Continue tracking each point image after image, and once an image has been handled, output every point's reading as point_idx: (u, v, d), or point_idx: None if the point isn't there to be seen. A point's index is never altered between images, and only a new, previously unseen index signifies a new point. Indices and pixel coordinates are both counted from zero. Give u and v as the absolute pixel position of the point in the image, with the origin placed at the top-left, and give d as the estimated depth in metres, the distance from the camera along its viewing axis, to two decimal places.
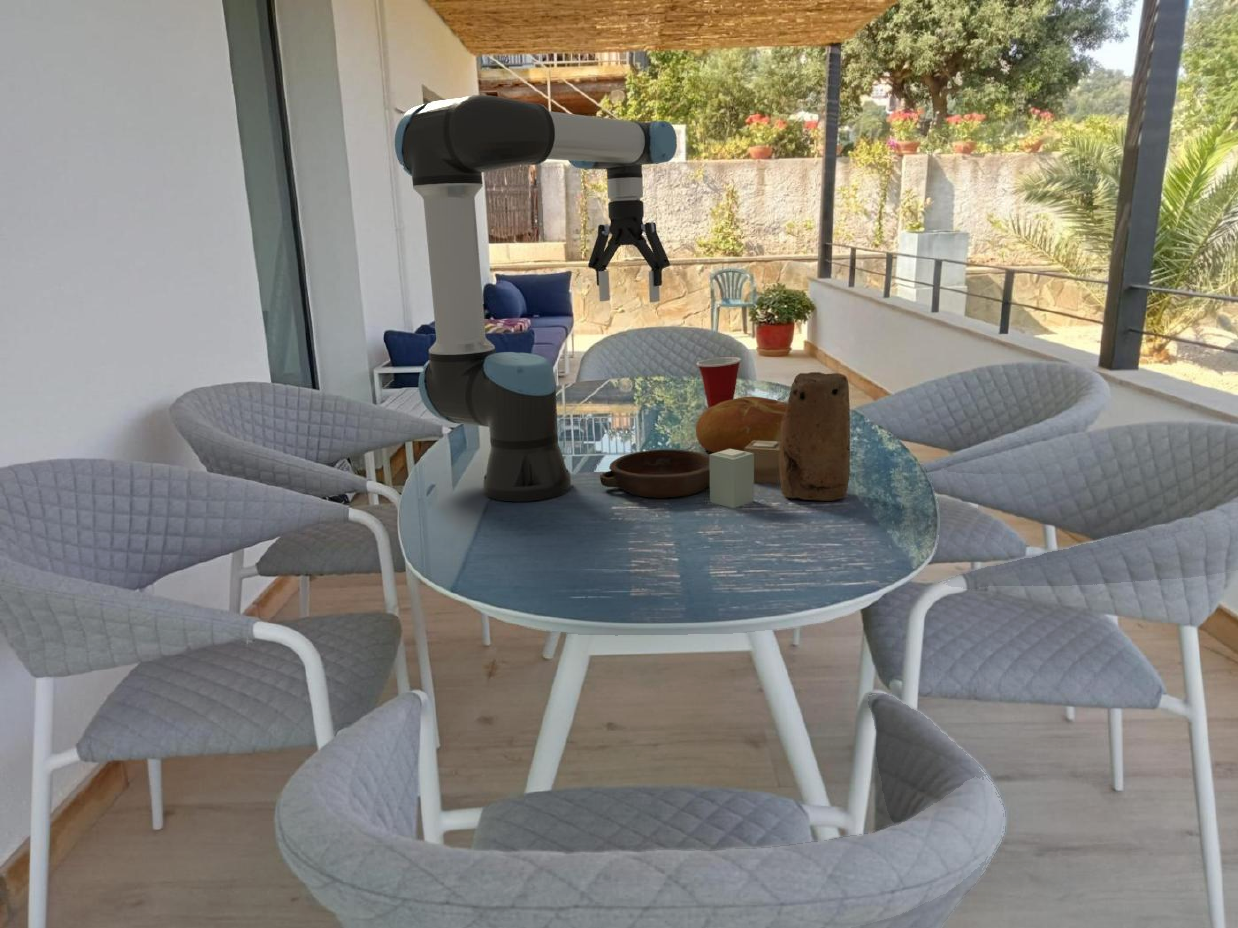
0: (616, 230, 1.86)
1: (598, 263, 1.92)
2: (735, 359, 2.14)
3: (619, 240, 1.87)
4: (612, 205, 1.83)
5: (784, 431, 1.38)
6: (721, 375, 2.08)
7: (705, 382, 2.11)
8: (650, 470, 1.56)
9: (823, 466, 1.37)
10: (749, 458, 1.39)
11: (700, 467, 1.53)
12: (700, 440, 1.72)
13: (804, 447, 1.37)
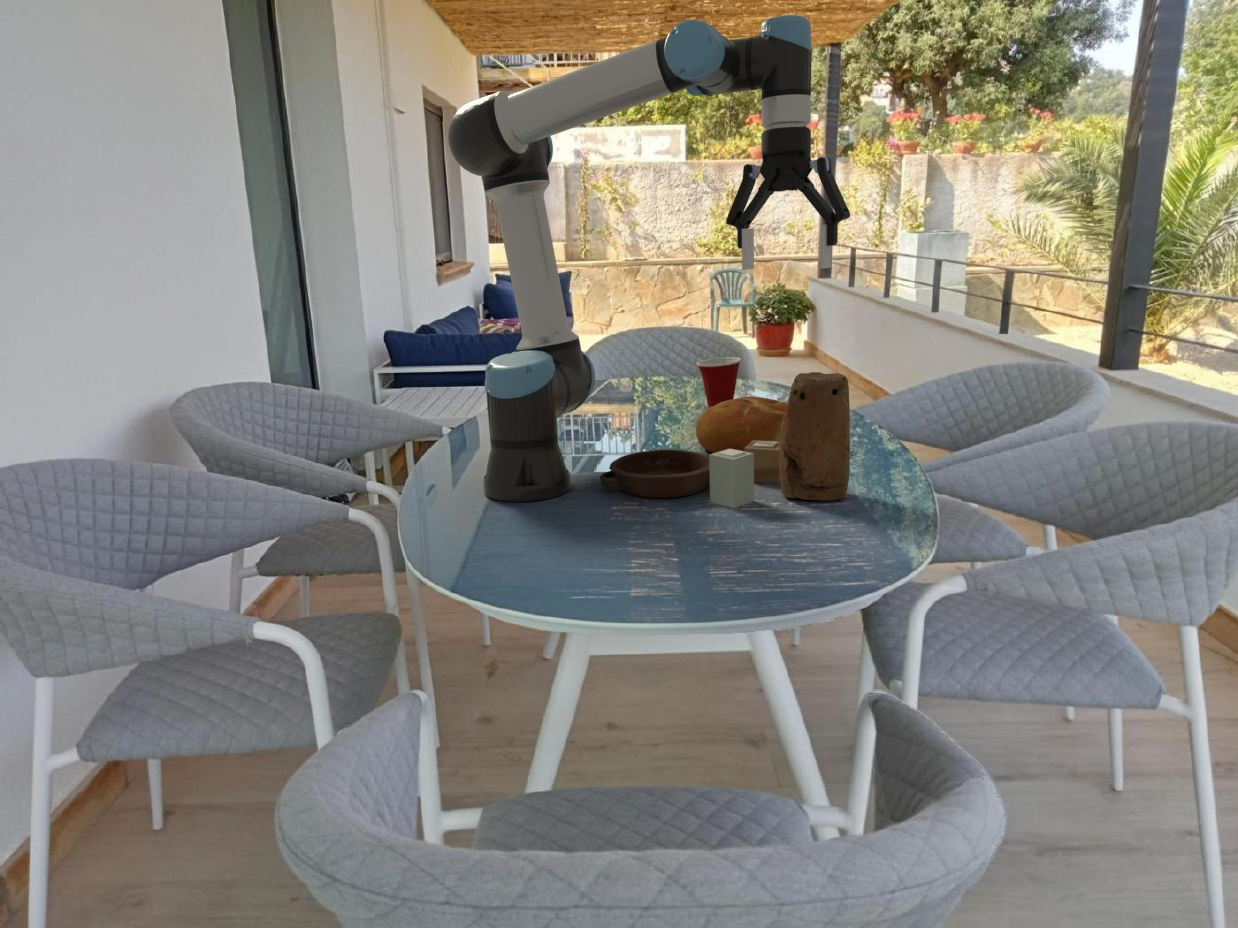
0: (773, 170, 1.36)
1: (742, 218, 1.42)
2: (735, 359, 2.14)
3: (775, 184, 1.37)
4: (771, 134, 1.33)
5: (784, 431, 1.38)
6: (721, 375, 2.08)
7: (705, 382, 2.11)
8: (650, 470, 1.56)
9: (823, 466, 1.37)
10: (749, 458, 1.39)
11: (700, 467, 1.53)
12: (700, 440, 1.72)
13: (804, 447, 1.37)
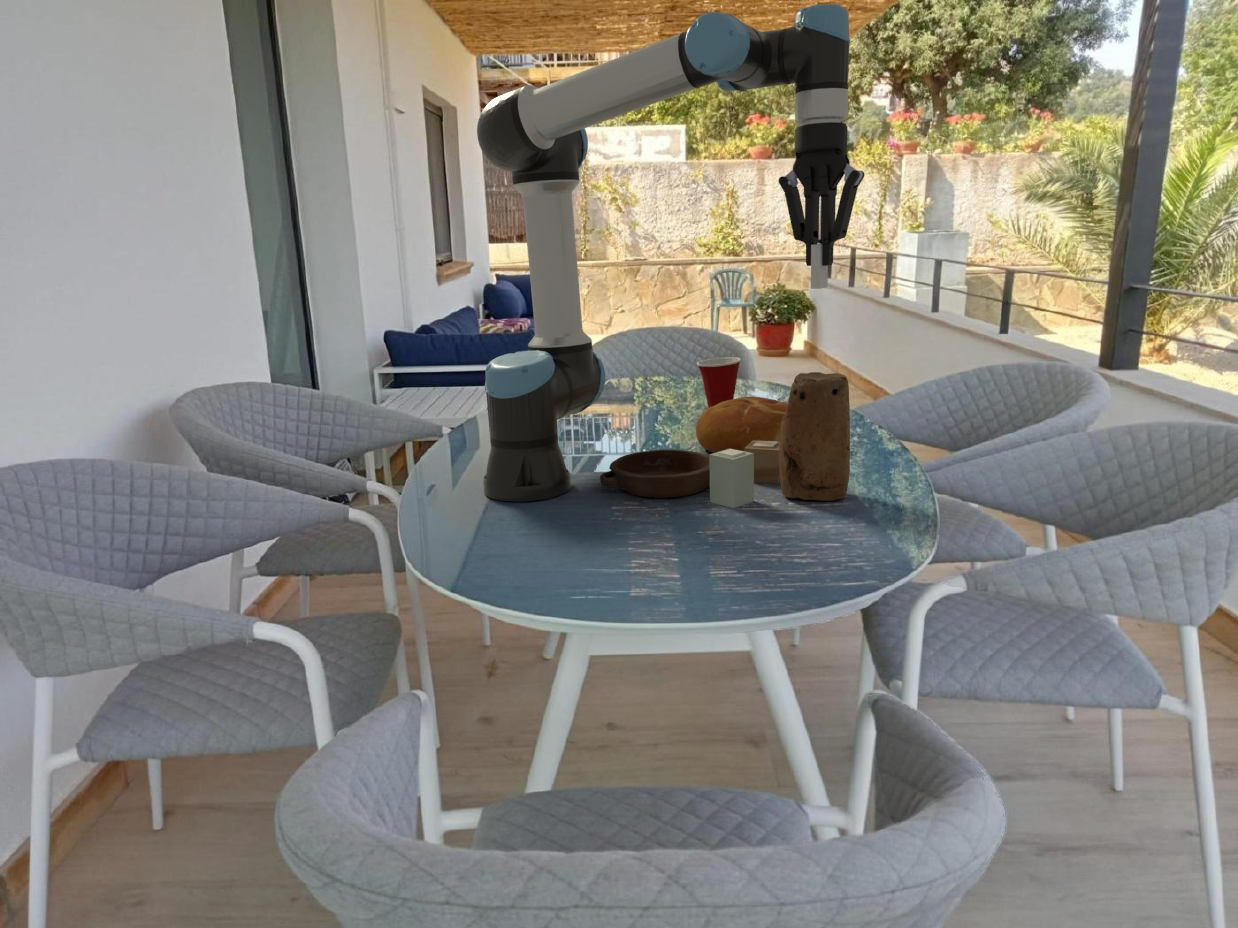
0: (807, 168, 1.29)
1: (806, 232, 1.32)
2: (735, 359, 2.14)
3: None
4: (806, 130, 1.26)
5: (784, 431, 1.38)
6: (721, 375, 2.08)
7: (705, 382, 2.11)
8: (650, 470, 1.56)
9: (823, 466, 1.37)
10: (749, 458, 1.39)
11: (700, 467, 1.53)
12: (700, 440, 1.72)
13: (804, 447, 1.37)
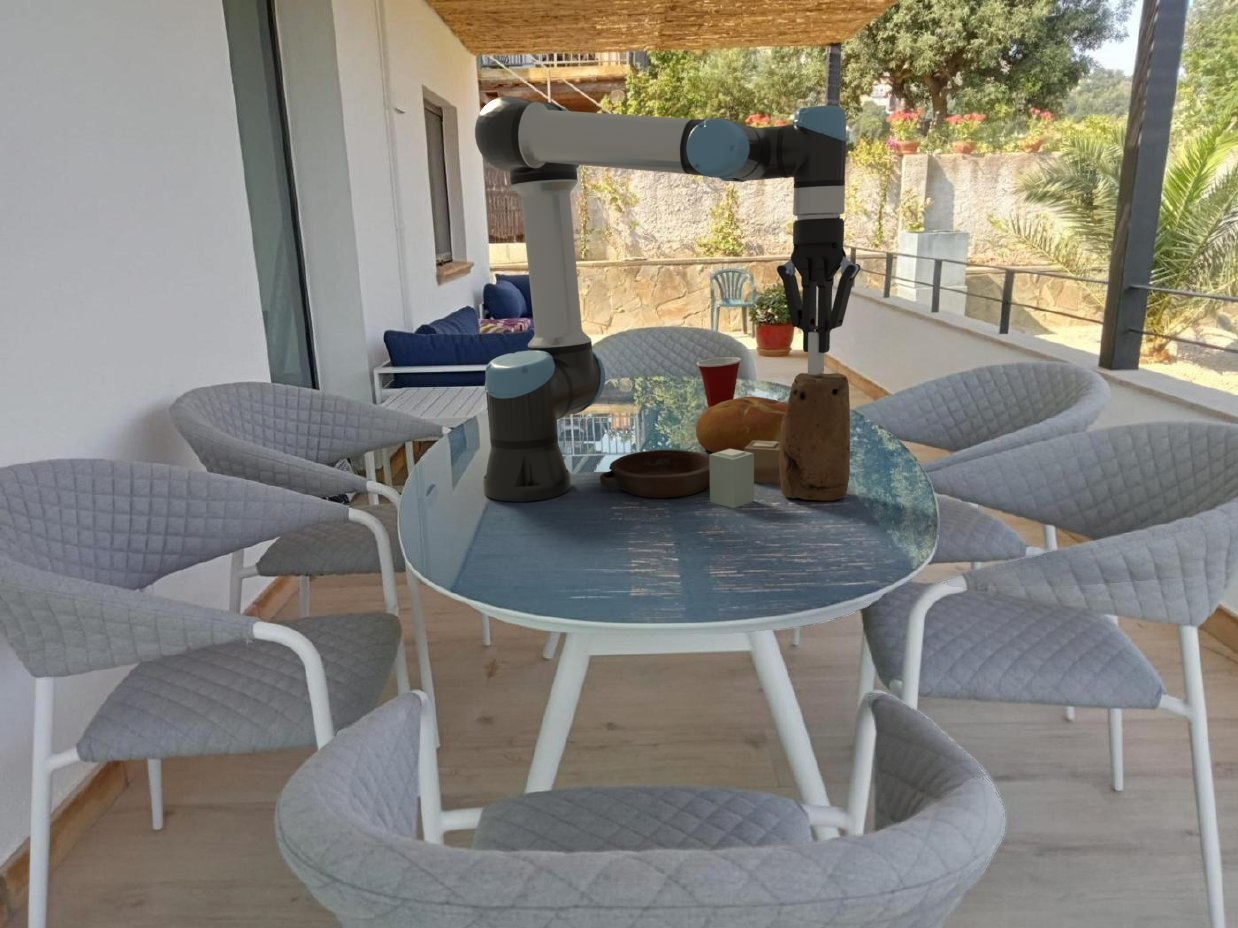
0: (804, 260, 1.32)
1: (804, 320, 1.35)
2: (735, 359, 2.14)
3: None
4: (803, 225, 1.29)
5: (784, 431, 1.38)
6: (721, 375, 2.08)
7: (705, 382, 2.11)
8: (650, 470, 1.56)
9: (823, 466, 1.37)
10: (749, 458, 1.39)
11: (700, 467, 1.53)
12: (700, 440, 1.72)
13: (805, 447, 1.37)
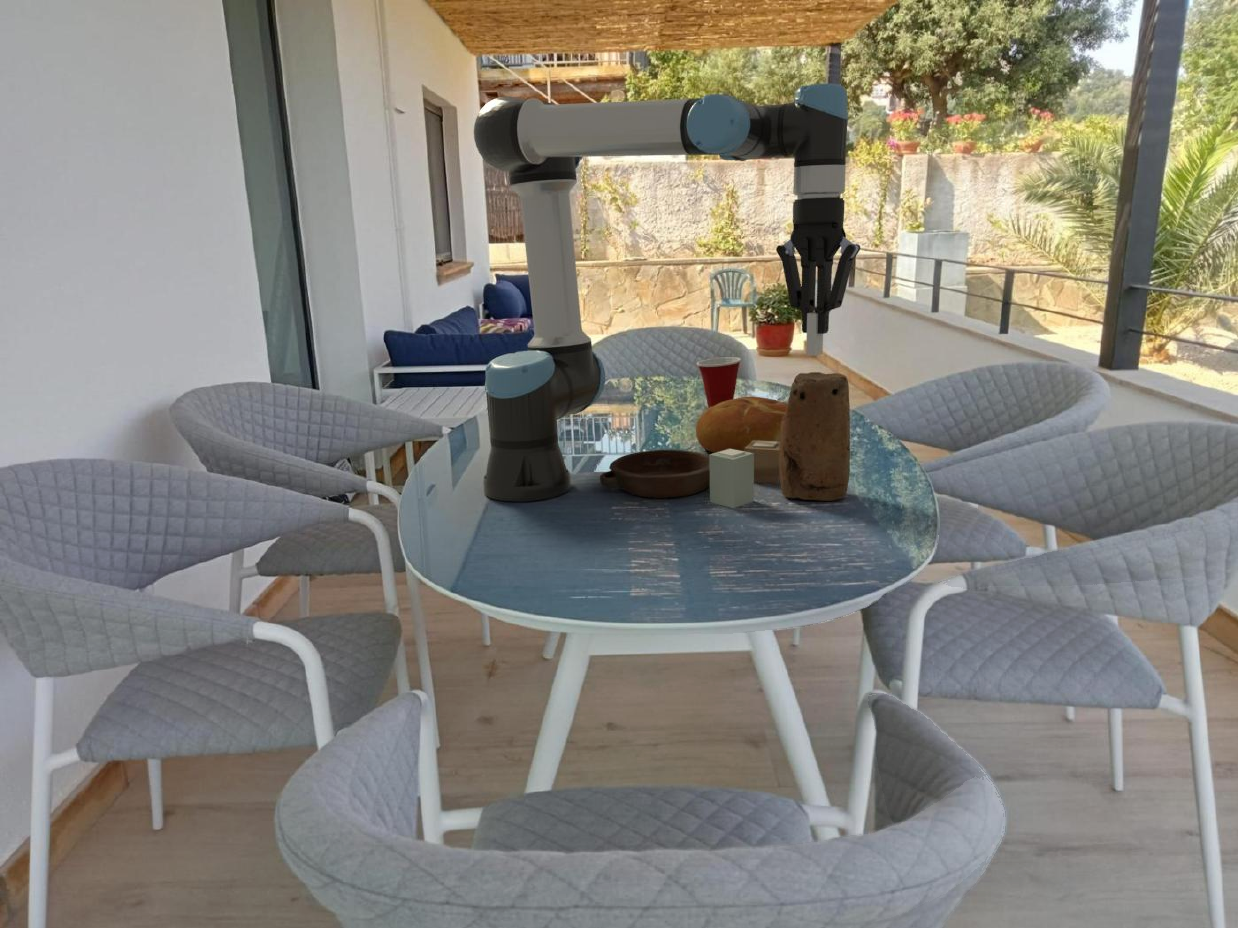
0: (804, 240, 1.31)
1: (803, 301, 1.34)
2: (735, 359, 2.14)
3: None
4: (803, 204, 1.28)
5: (784, 431, 1.38)
6: (721, 375, 2.08)
7: (705, 382, 2.11)
8: (650, 470, 1.56)
9: (823, 466, 1.37)
10: (749, 458, 1.39)
11: (700, 467, 1.53)
12: (700, 440, 1.72)
13: (804, 447, 1.37)
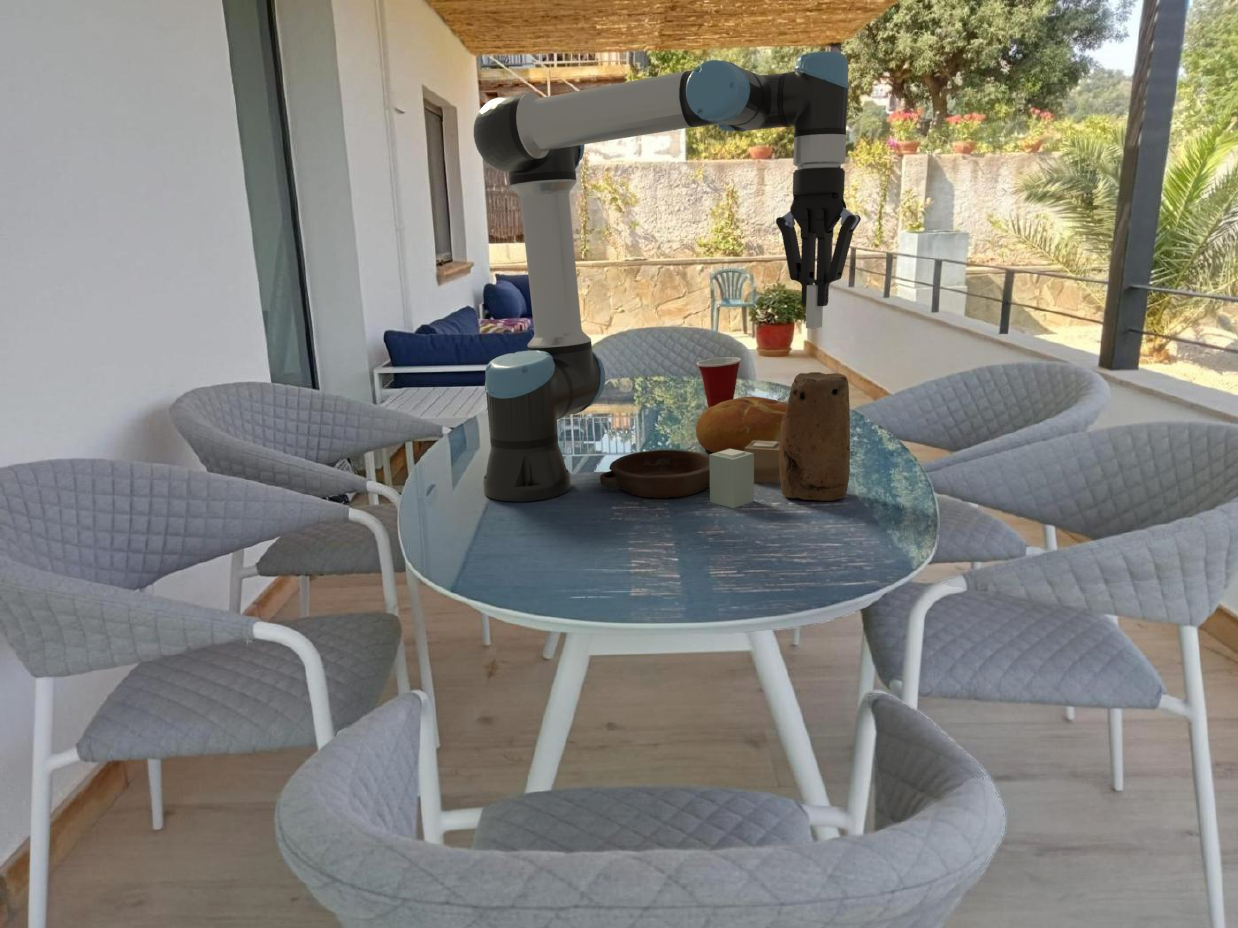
0: (804, 211, 1.30)
1: (802, 273, 1.33)
2: (735, 359, 2.14)
3: None
4: (804, 175, 1.27)
5: (784, 431, 1.38)
6: (721, 375, 2.08)
7: (705, 382, 2.11)
8: (650, 470, 1.56)
9: (823, 466, 1.37)
10: (749, 458, 1.39)
11: (700, 467, 1.53)
12: (700, 440, 1.72)
13: (804, 447, 1.37)
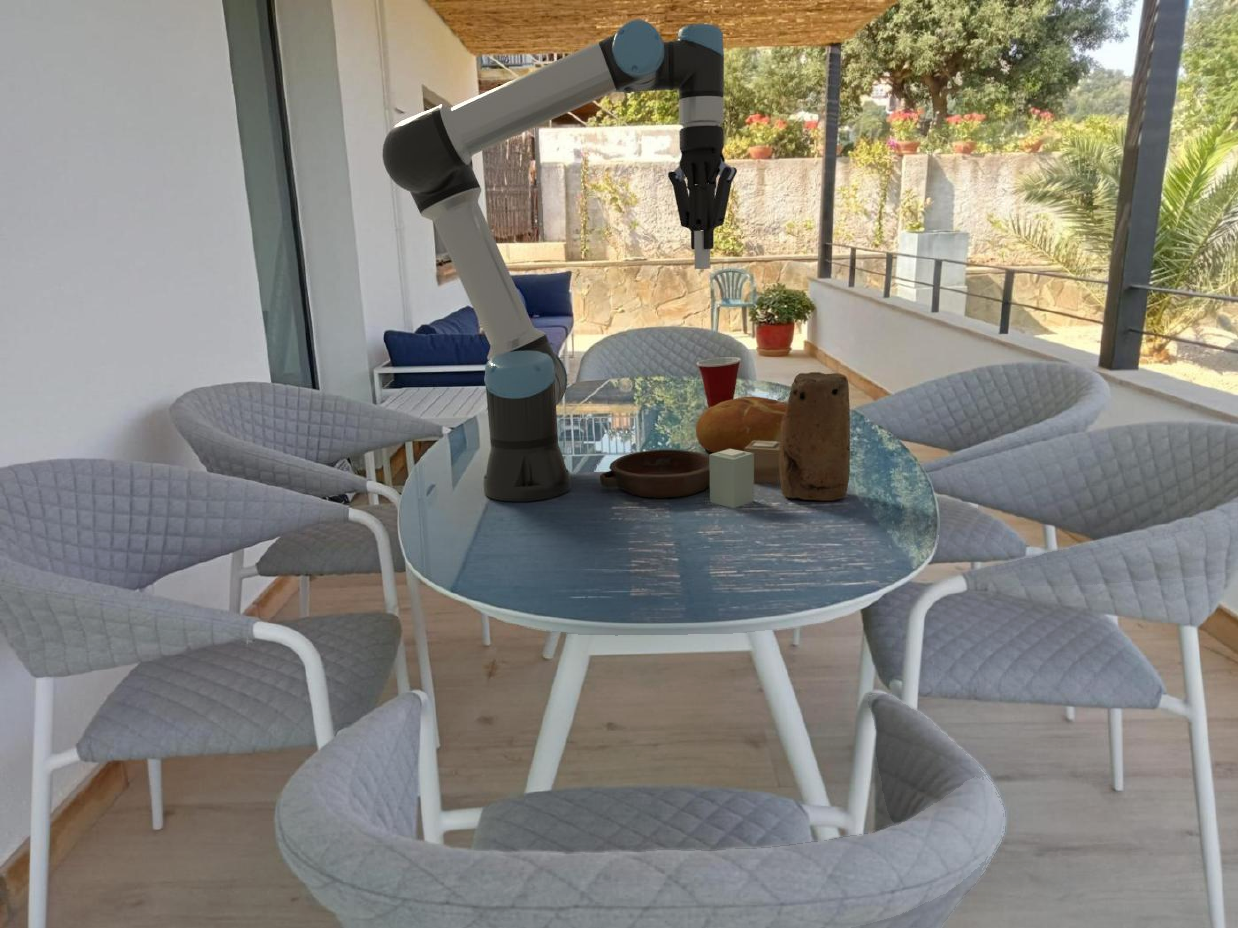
0: (689, 165, 1.49)
1: (690, 220, 1.52)
2: (735, 359, 2.14)
3: None
4: (686, 132, 1.46)
5: (784, 431, 1.38)
6: (721, 375, 2.08)
7: (705, 382, 2.11)
8: (650, 470, 1.56)
9: (823, 466, 1.37)
10: (749, 458, 1.39)
11: (700, 467, 1.53)
12: (700, 440, 1.72)
13: (804, 447, 1.37)
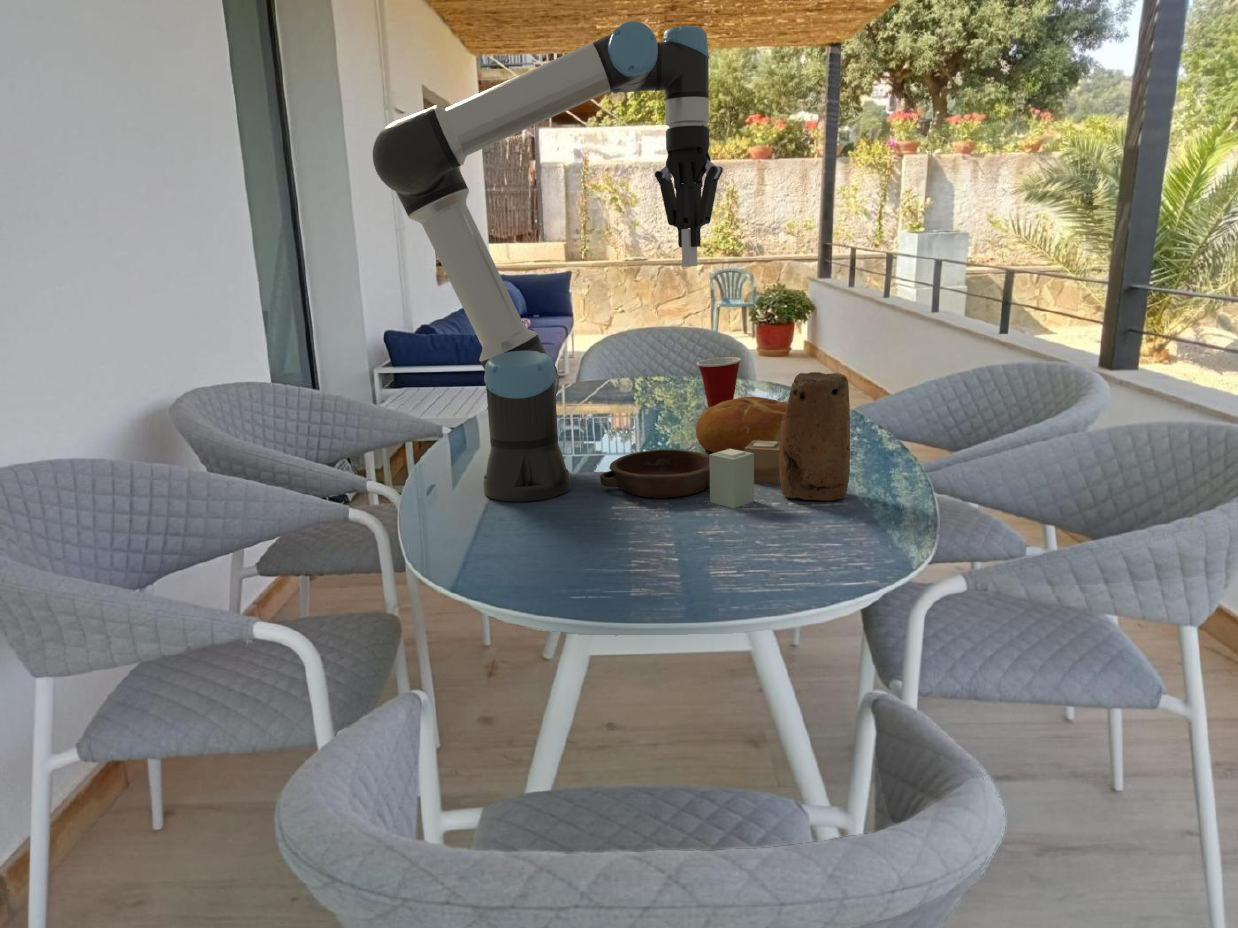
0: (675, 164, 1.52)
1: (677, 218, 1.55)
2: (735, 359, 2.14)
3: None
4: (672, 132, 1.49)
5: (784, 431, 1.38)
6: (721, 375, 2.08)
7: (705, 382, 2.11)
8: (650, 470, 1.56)
9: (823, 466, 1.37)
10: (749, 458, 1.39)
11: (700, 467, 1.53)
12: (700, 440, 1.72)
13: (804, 447, 1.37)
